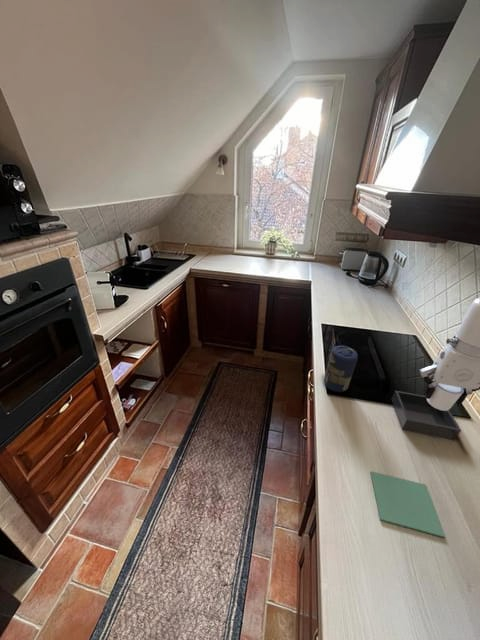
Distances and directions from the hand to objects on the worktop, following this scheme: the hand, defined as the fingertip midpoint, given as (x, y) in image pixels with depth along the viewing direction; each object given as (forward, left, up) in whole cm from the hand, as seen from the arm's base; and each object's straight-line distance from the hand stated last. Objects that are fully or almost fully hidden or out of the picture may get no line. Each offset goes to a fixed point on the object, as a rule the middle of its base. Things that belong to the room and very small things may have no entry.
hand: (441, 397), depth 71 cm
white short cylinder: (0, 0, -2) cm, 2 cm away
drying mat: (+9, +20, -20) cm, 30 cm away
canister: (+23, -20, -20) cm, 36 cm away
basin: (-5, -11, -20) cm, 23 cm away
